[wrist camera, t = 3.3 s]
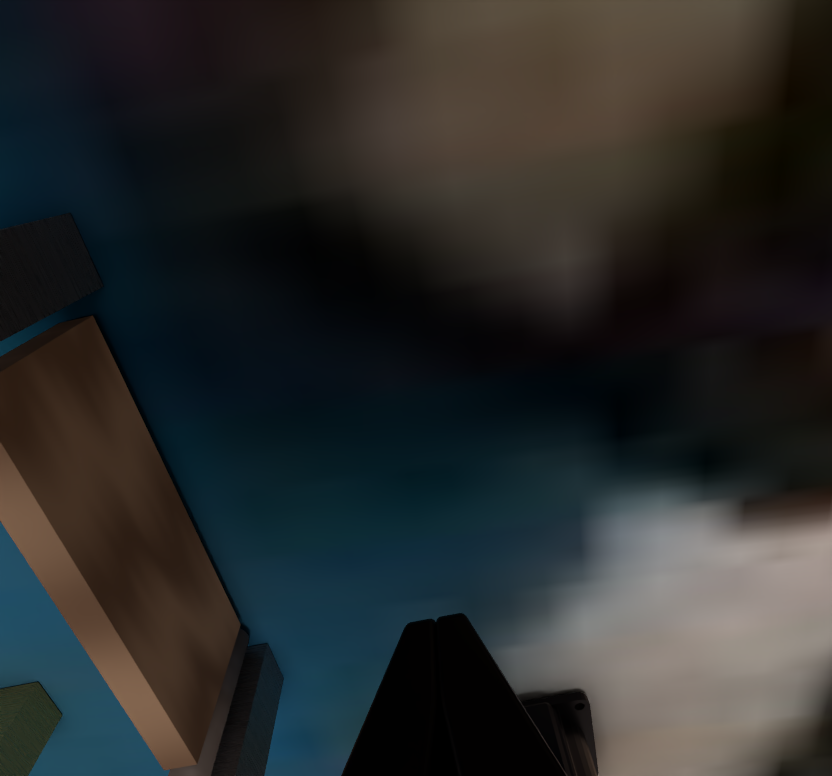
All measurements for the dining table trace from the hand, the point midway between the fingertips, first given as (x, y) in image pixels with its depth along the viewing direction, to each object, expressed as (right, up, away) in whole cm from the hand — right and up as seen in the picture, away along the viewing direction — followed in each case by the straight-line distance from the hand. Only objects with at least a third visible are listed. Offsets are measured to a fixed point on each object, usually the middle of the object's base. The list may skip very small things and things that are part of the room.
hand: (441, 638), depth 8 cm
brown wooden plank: (-10, -1, +14) cm, 18 cm away
